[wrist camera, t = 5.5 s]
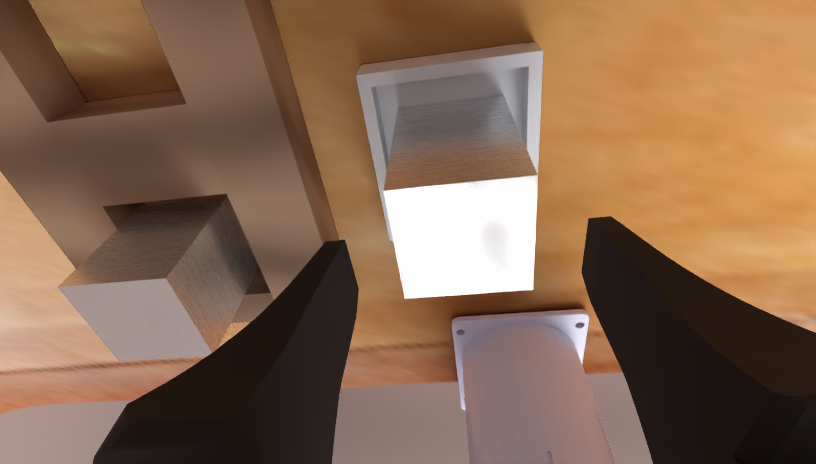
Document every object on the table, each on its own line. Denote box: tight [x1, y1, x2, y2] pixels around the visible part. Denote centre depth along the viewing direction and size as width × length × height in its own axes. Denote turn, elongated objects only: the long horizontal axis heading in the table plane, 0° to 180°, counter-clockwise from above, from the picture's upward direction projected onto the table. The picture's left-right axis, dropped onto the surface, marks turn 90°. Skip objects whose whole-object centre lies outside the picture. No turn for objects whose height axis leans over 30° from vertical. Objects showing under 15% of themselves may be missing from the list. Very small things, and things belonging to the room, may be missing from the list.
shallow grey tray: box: [356, 41, 543, 241], centre depth 19 cm, size 8×7×2 cm
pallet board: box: [0, 0, 339, 323], centre depth 19 cm, size 20×13×2 cm, turn 8°
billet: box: [383, 94, 538, 299], centre depth 16 cm, size 4×4×7 cm
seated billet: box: [58, 194, 259, 361], centre depth 20 cm, size 4×4×7 cm
